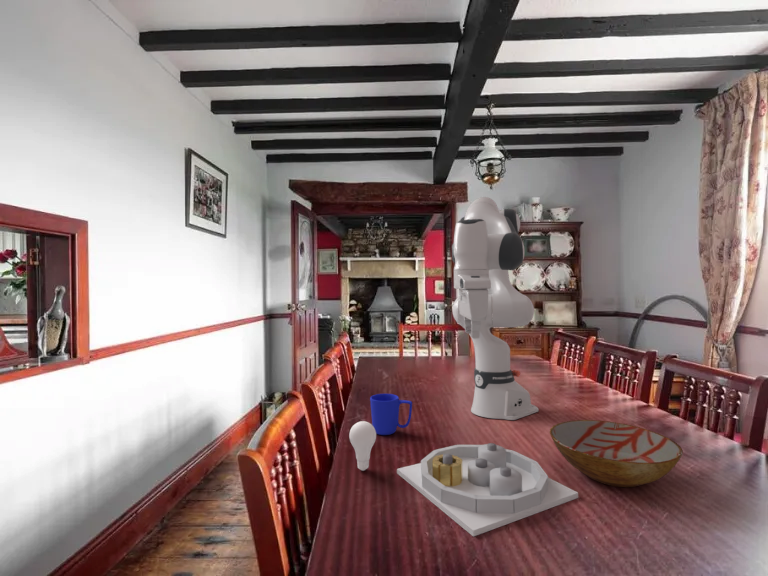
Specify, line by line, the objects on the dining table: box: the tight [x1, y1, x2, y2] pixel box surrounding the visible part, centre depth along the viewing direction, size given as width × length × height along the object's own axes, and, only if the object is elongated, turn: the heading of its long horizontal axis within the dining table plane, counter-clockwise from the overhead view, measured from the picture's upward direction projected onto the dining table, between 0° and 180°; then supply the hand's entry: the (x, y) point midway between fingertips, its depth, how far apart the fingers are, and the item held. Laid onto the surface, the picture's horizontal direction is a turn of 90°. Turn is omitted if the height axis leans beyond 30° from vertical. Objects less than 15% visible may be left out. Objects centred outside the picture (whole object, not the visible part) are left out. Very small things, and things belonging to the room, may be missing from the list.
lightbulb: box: [348, 420, 377, 472], centre depth 92 cm, size 6×6×11 cm
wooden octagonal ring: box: [432, 454, 463, 487], centre depth 85 cm, size 6×6×4 cm
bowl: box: [549, 419, 684, 488], centre depth 89 cm, size 25×25×8 cm
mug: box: [369, 393, 413, 436], centre depth 116 cm, size 8×12×10 cm
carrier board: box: [396, 442, 579, 537], centre depth 85 cm, size 26×26×6 cm
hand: (471, 335), depth 104 cm, fingers open, 8 cm apart
